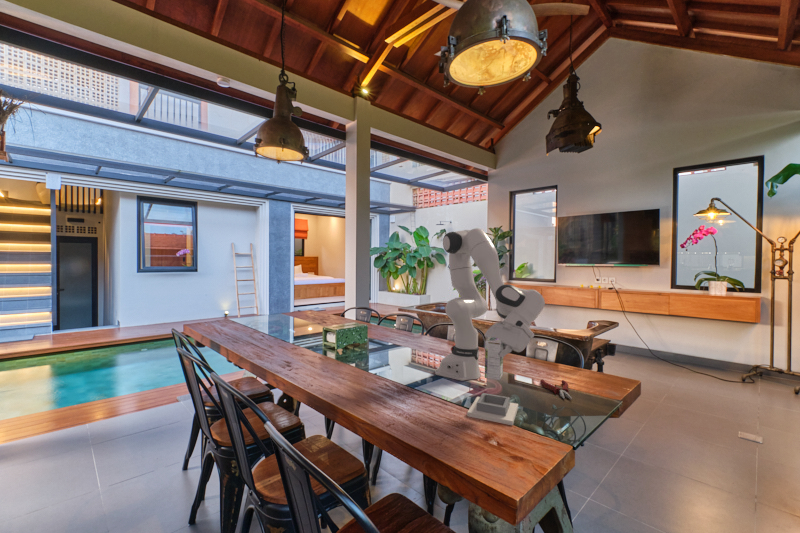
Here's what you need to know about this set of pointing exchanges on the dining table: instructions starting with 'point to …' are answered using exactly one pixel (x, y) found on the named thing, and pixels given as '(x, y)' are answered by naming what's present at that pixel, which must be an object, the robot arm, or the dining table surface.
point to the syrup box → (493, 358)
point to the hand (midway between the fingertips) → (492, 353)
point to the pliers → (557, 389)
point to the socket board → (493, 409)
